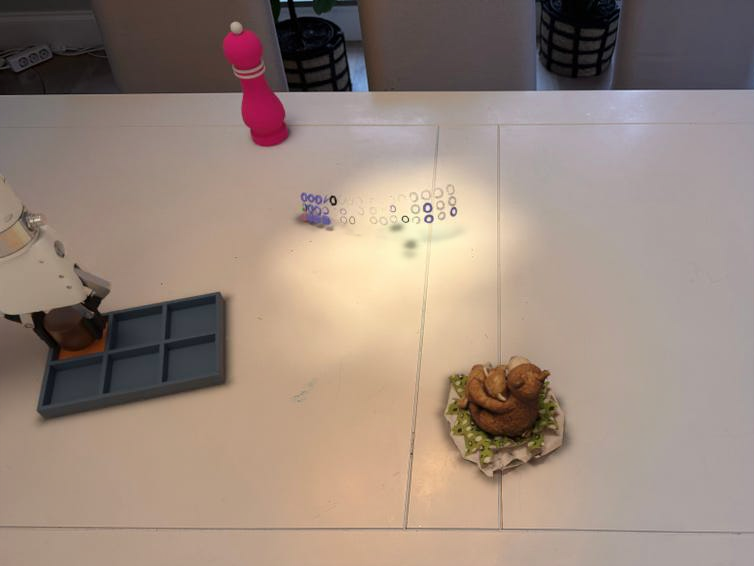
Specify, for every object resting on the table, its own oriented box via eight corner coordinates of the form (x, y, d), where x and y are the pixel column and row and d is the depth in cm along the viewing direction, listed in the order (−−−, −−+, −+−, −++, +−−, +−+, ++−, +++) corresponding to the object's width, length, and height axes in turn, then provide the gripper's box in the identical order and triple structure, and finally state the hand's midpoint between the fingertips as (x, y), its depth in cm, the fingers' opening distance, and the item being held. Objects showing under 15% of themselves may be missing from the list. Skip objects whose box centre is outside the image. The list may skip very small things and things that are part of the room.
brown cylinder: (56, 355, 87) (39, 335, 84) (62, 326, 90) (46, 306, 87) (97, 347, 88) (81, 327, 84) (101, 319, 91) (86, 299, 87)
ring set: (288, 258, 103) (266, 183, 96) (328, 227, 112) (310, 158, 105) (436, 265, 94) (421, 183, 87) (467, 231, 102) (456, 155, 96)
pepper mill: (291, 122, 121) (259, 8, 105) (291, 145, 117) (257, 30, 101) (250, 127, 121) (212, 14, 105) (249, 151, 116) (209, 36, 100)
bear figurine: (529, 355, 87) (532, 290, 78) (579, 449, 78) (590, 389, 69) (429, 386, 85) (420, 323, 75) (470, 487, 76) (464, 430, 66)
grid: (224, 383, 86) (219, 374, 84) (45, 419, 83) (36, 410, 82) (224, 301, 95) (219, 291, 93) (62, 331, 92) (54, 321, 91)
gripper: (81, 196, 77) (147, 303, 92) (-78, 221, 75) (15, 327, 90) (72, 239, 73) (143, 344, 87) (-97, 267, 71) (4, 370, 85)
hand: (77, 334), depth 88 cm, fingers closed on brown cylinder, 5 cm apart
